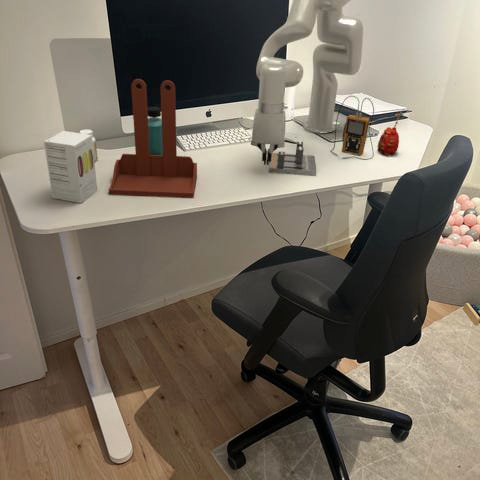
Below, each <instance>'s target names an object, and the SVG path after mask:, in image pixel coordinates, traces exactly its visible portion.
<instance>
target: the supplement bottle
mask: <svg viewBox="0 0 480 480" xmlns="http://www.w3.org/2000/svg"><path fill="white" fill-rule="evenodd" d="M78 133H81V134H88V135H92V143H93V153H94V162H95V163H96V162H97V161H98V151H97V141H96V138H95V137H94V132H93V130H91V129H81V130H80V131H79V132H78Z"/></svg>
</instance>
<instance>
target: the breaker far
mask: <svg viewBox="0 0 480 480" xmlns="http://www.w3.org/2000/svg"><path fill="white" fill-rule="evenodd" d="M295 147H296V149H295V154H297V147H303V148H304V141H301V140H298V141H296V146H295Z"/></svg>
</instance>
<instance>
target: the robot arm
mask: <svg viewBox="0 0 480 480" xmlns="http://www.w3.org/2000/svg"><path fill="white" fill-rule="evenodd" d="M350 1H351V0H292V3H291V7H290V10H289V13H288V16H287V19H286V22H285V23H284V24H283V25H282V26H280V27H279V28H278V29H277V30H275V31H274V32H273V33H272V34H271V35H270V36H269V37H268V39H267V40H266V41H265V42H264V44H263V46H262V48H261V50H260V54H259V57H258V59H257V63H256V69H255V70H256V71H255V73H256V77H257V78H258V80H259V89H258V92H259V93H258V101H257V102H258V103H257V104H258V106H257V108H255V111H254V114H253V120H252V121H253V122H252V129H251V130H252V133H251V140H250V145H251V146H254V147H256V148H258V150H260V152H261V162H263V165H264V166H270V162H271V156H272V153H275V151H276V150H278V149H281V148H282V149H283V148H285V146H286V143H285V139H286V121H287V120H286V118H287V117H286V112H285V110H288V109H289V104H287V103H285V102H284V100H285V89H286V88H292V87H296V86H297V85H298V84H300V83H301V82H302V80H303V77H304V68H303V65H302V64H301V63H300V62H298V61H295V60H290V59H284V58H279V57H275V54H277V52H278V51H279V50H280V49H281V48H283V47H284V46H286V45H288V44H291V43H294V42H296V41H301V40H302V39H306V38H308V37H309V36H311V34H312V33H313V30H314V26H315V24H316V33H317V34H316V35H317V38H318V40H319V42H321V44H319V45H317V46H316V47H315V48H314V51H313V54H312V70H313V71H312V72H313V74H312V84H311V93H310V99H309V100H310V102H309V108H308V109H309V111H308V117H307V118H308V120H307V121H305V122H304V123H303V125H302V126H303V130H305V131H307V132H309V133H314V134H319V133H320V132H330V131H333V130H335V128H336V129H337V125H336V124H333V122H334V114H335V108H336V99H337V94H338V93H337V92H338V85H339V83H338V80H337V78H336V75H335V74H339V75H345V76H355V75H356V74H357V73H358V72H359V70H360V67H361V64H362V55H363V42H364V41H363V39H364V25H363V22H362V20H361V19H360V18H357V17H354V16H346V15H344V13H343V7H345V6H346V5H347V4H348V3H349V2H350ZM266 145H269V148H266Z"/></svg>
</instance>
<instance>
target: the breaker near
mask: <svg viewBox="0 0 480 480" xmlns="http://www.w3.org/2000/svg"><path fill="white" fill-rule="evenodd" d="M277 153H278V163H277V167H280V168H284V158H285V154H286V152H285V151H282V150H280V151H278V152H277Z"/></svg>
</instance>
